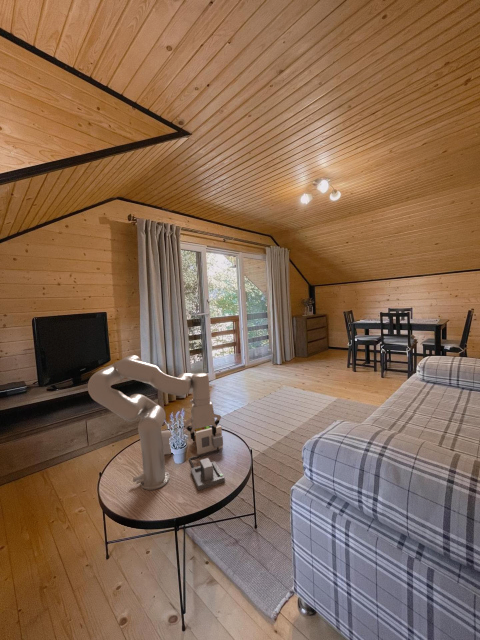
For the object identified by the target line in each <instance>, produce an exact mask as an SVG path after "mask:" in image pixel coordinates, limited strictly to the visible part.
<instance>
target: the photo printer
mask: <svg viewBox="0 0 480 640" xmlns="http://www.w3.org/2000/svg"><path fill="white" fill-rule="evenodd" d="M170 431H171V430H170ZM170 431H169V430H161V433H162V437H163V446H164V456H165V455H172V454H171V449H170V445H169V438H170V436H171V433H170Z"/></svg>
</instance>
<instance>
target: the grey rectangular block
mask: <svg viewBox="0 0 480 640" xmlns="http://www.w3.org/2000/svg"><path fill="white" fill-rule="evenodd" d="M211 462H212V461H211V460H210V458H209V457H206V458H202V459H200V460H199V463H200V465H199V466H200V467H201V474H202V476H203V478H204V480H205V481H207V480H210V479H213V478H214V476H213V465H212V463H211Z"/></svg>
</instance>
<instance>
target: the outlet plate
mask: <svg viewBox="0 0 480 640" xmlns="http://www.w3.org/2000/svg"><path fill="white" fill-rule="evenodd" d="M215 434H216V436H214V435H213V434H212V427H210V428H209V429H205V430H201V431H197V432H196V433H195V435H196V442H195V444H196V453H197V456H198V455H202V454H205V453H209V452H212V451H216V450H217V447H219V450H220V449H223V448H224V438H223V437H224V436H223V430H222V426H221V425H217V427H216V433H215Z"/></svg>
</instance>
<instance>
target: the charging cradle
mask: <svg viewBox="0 0 480 640" xmlns="http://www.w3.org/2000/svg"><path fill="white" fill-rule="evenodd" d="M210 462H211V463H212V465H213V476H214V478H213V479H210V480H207V481H205V480H204V478H203V476H202V474H201V467H200V465H198V466H194V468H192V467H191V468H190V475H192V476H191V477H192V479H193V481H194V483H195V485H196V488H197V489H198V491H202V490H205V489H207V488H210V487H214V486H216V485H219V484H223V483H225V482H226V479H225V476H224V474H223V473H222V471H221V469H220V468H219V466H218V464H217V463H216V461H210Z"/></svg>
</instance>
